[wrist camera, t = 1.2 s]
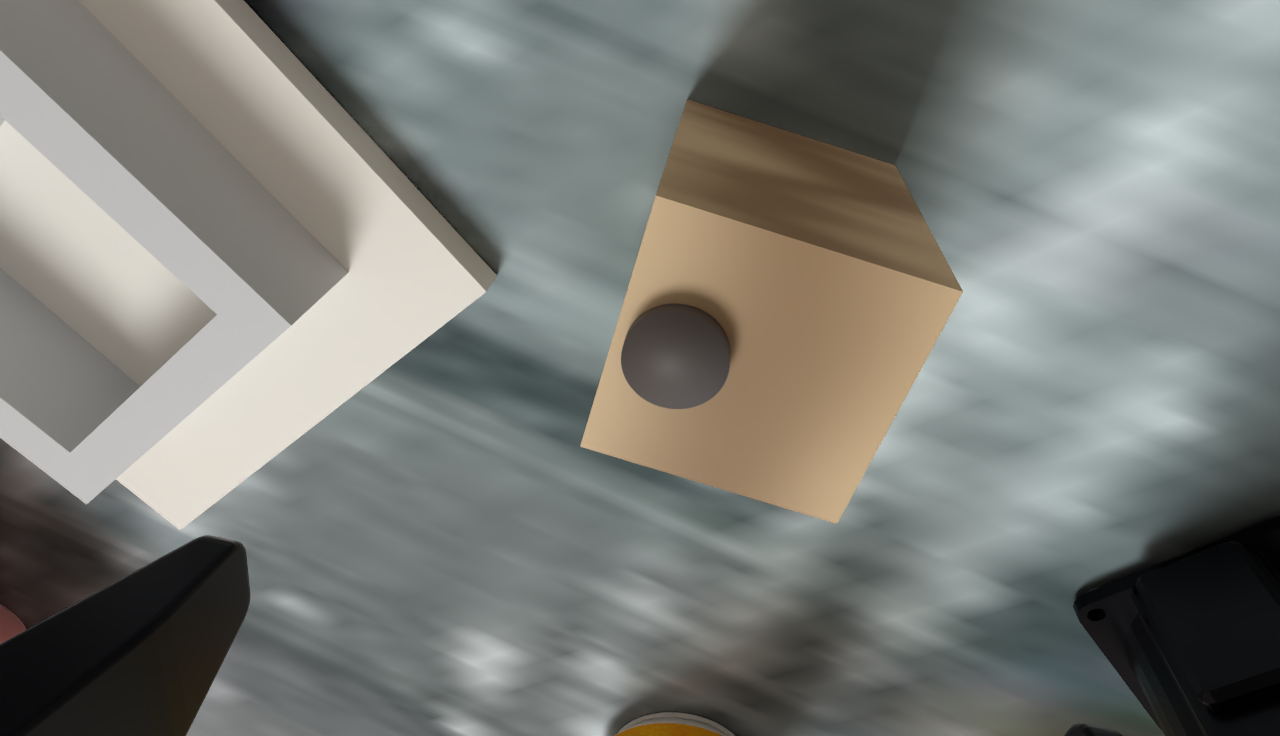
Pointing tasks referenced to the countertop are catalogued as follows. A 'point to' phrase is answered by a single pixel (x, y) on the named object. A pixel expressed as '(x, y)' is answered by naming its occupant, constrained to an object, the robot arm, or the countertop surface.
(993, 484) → the countertop surface
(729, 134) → the tan block
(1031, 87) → the countertop surface
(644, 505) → the countertop surface
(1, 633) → the cell model
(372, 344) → the socket plate
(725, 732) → the beer can
